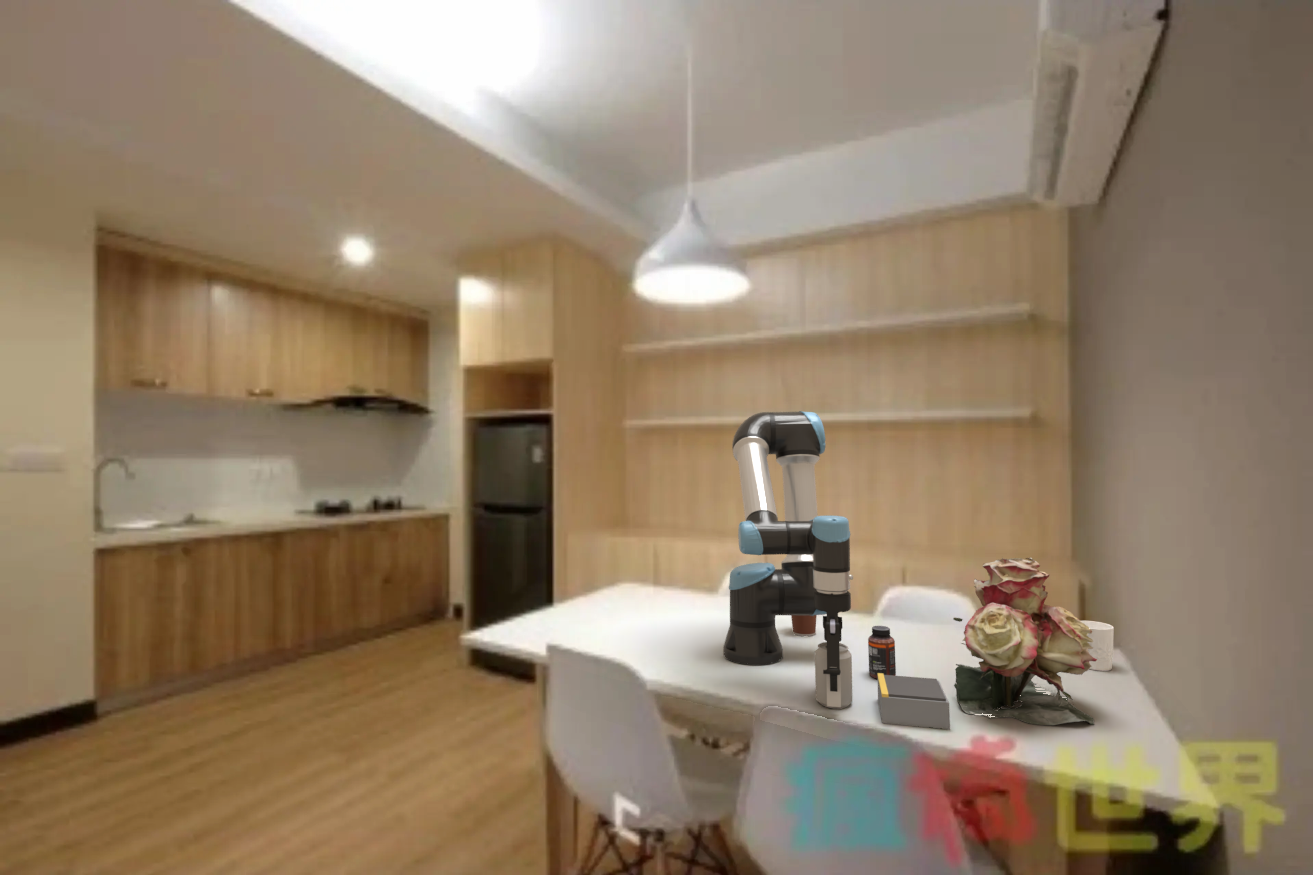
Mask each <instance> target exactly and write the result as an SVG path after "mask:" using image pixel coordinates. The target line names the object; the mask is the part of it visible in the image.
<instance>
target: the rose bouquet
mask: <svg viewBox="0 0 1313 875" xmlns="http://www.w3.org/2000/svg"><path fill="white" fill-rule="evenodd" d="M1040 567H1041V565H1040V563H1039V562H1038V561H1036V560H1035V559H1034V558H1032V557H1031V556H1030V557H1025V558H1023V557H1020V558H1019V557H1018V558H1016V557H1015V558H1003V557H1001V558H1000V559H996V560H994V561H991V562H985V563H983V564H982V568H984V569H985V571H986V572H987V573H988V576H989V579H988V580H982V579H976V578H974V580H973V588H974V589H975V594H976V597H977V598H978V599H979V601H980V604H981V605H982V606H981V607H979V608H978V609H975V612H974V614H973V615H972V616H971V617H970V619H969V620H968V622H967V623H966V625H965V627H964V631H963V634H964V638H963V639H962V642H963V641H964V642H965V643H964V642H963V643H962V642H960V645H964V646H965V647H966V649H967V650H968V651H969V652H970V654H971V656H972V657H976V658H977V659H981V660H982V661H978V664H979V665H978V667H975V666H974V667H973V666H969V665H965V664H960V663H959V664H958V663H956V664H955V666H957V667H956V668H955V669H954V670H955V683H954V684H953V686H954V688H955V690H956V692H955V693H956V700H957V703H958V705H960V708H961V710H962V711H963V712H964V713H966V714H968V715H972V714H982V713H983V714H992V715H991V716H995V717H991V718H989V717H988V715H987V717H988V719H991V720H992V719H998V718H1014V719H1017V720H1019V721H1021V722H1025V723H1026V724H1030V725H1041V726H1056V725H1060V724H1067V723H1074V722H1075V723H1076V722H1083V721H1084V722H1086V723H1087V724H1088V725H1093V726H1094V725H1095V720H1094V717H1092V715H1090V714H1087V713H1085V712H1083V711H1082V710H1080V709H1079V708H1077V707H1075V706H1074V705H1072V704H1071V703H1070V702H1069V701H1068V699H1069V700H1071V701H1074V699H1073V697H1072V696H1071V694H1069V693H1068V692H1066V691H1065V690H1064V687H1063V681H1062V677H1061V676H1060V675H1059V674H1058V673H1065V674H1071V675H1079V676H1080V675H1081V676H1082V675H1083V674H1084V673H1085V672H1087V671H1089V670H1090V669H1089V668H1090V667H1092V666H1091V665H1090V663H1089V661H1096V660H1097V659H1095V658H1093V657H1092V656H1091V655H1090V654H1089V652H1088V649H1093V647H1091V646H1090V645H1089V643H1088V642H1093V640H1092V639H1091V638H1089V637H1088V636H1086V635H1088V633H1091V634H1092V630H1091V629H1089V627H1088V626H1087V625H1085V624H1084V623H1082V622H1080V621H1081V620H1080V619H1079V618H1078V617H1076V616H1075V614H1074V613H1073V612H1071V611H1070V610H1069V611H1068V610H1067V609H1066V608H1065V607H1062V606H1055V605H1048V604H1045V601H1046V599H1047V598H1048V593H1049V592H1048V591H1046V585H1044V584H1045V581H1046V580H1047V579H1048V578H1049V577H1050V574H1049V573H1047V572H1045V571H1042V570H1039V568H1040ZM953 621H955V622H959V623H961V622H963V621H964V618H961V617H955V616H954V617H953ZM1036 676H1037V677H1038V678H1040V679H1042V680H1044V681H1046V682H1047V684H1048V685H1050V686H1052V685H1053V687H1055V688H1056V691H1057V692H1056V695H1053V694H1051V695H1048V694H1043V693H1046V692H1036V691H1048V690H1036V689H1035V688H1043V687H1041V686H1040V687H1034V686H1037V683H1035V682H1034V681H1032V679H1033V678H1034V677H1036ZM1061 693H1062V694H1063V696H1064V697H1067V698H1062V695H1061ZM1020 695H1021V696H1020ZM1066 699H1067V700H1066ZM1017 701H1018V702H1021V701H1022V702H1021V704H1020V705H1019V706H1017V707H1015V706H1016V704H1015V703H1017ZM999 708H1000V709H999ZM994 710H996V711H994ZM989 716H990V715H989Z"/></svg>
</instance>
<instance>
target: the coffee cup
mask: <svg viewBox="0 0 1313 875" xmlns="http://www.w3.org/2000/svg"><path fill="white" fill-rule="evenodd" d="M790 616H791V625H792V626H791V627H792V634H793V635H794V634H795V635H794V636H798V637H804V636H808V637H814V636H816V631H817V630H816V629H817V628H816V627H817V617H818V615H814V616H810V615H790Z"/></svg>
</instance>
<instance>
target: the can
mask: <svg viewBox="0 0 1313 875" xmlns="http://www.w3.org/2000/svg"><path fill="white" fill-rule="evenodd" d="M817 647H818V648H816V650H815V651H814V673H815V674H814V681H815V683H814V684H815V685H814V686H815V688H814V689H815V699H816V701H817V702H818V703H819V704H820V705H821V706H822V707H826V708H829V709H835V710H836V709H838V710H839V709H840V710H841V709H844V708H848V706H849V705H851V704H852V703H853V662H852V660H853V659H852V658H853V656H852V655H853V654H852V653H851V652H850V651H849V646H848V645H847V644H845V643H841V642H839V655H840V670H841V673H840V678H841V707H831V706H827V678H826V674H823V670H826V669H827V641H825V642H824V641H823V642H820V643H818V644H817ZM830 668H837V667H830Z"/></svg>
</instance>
